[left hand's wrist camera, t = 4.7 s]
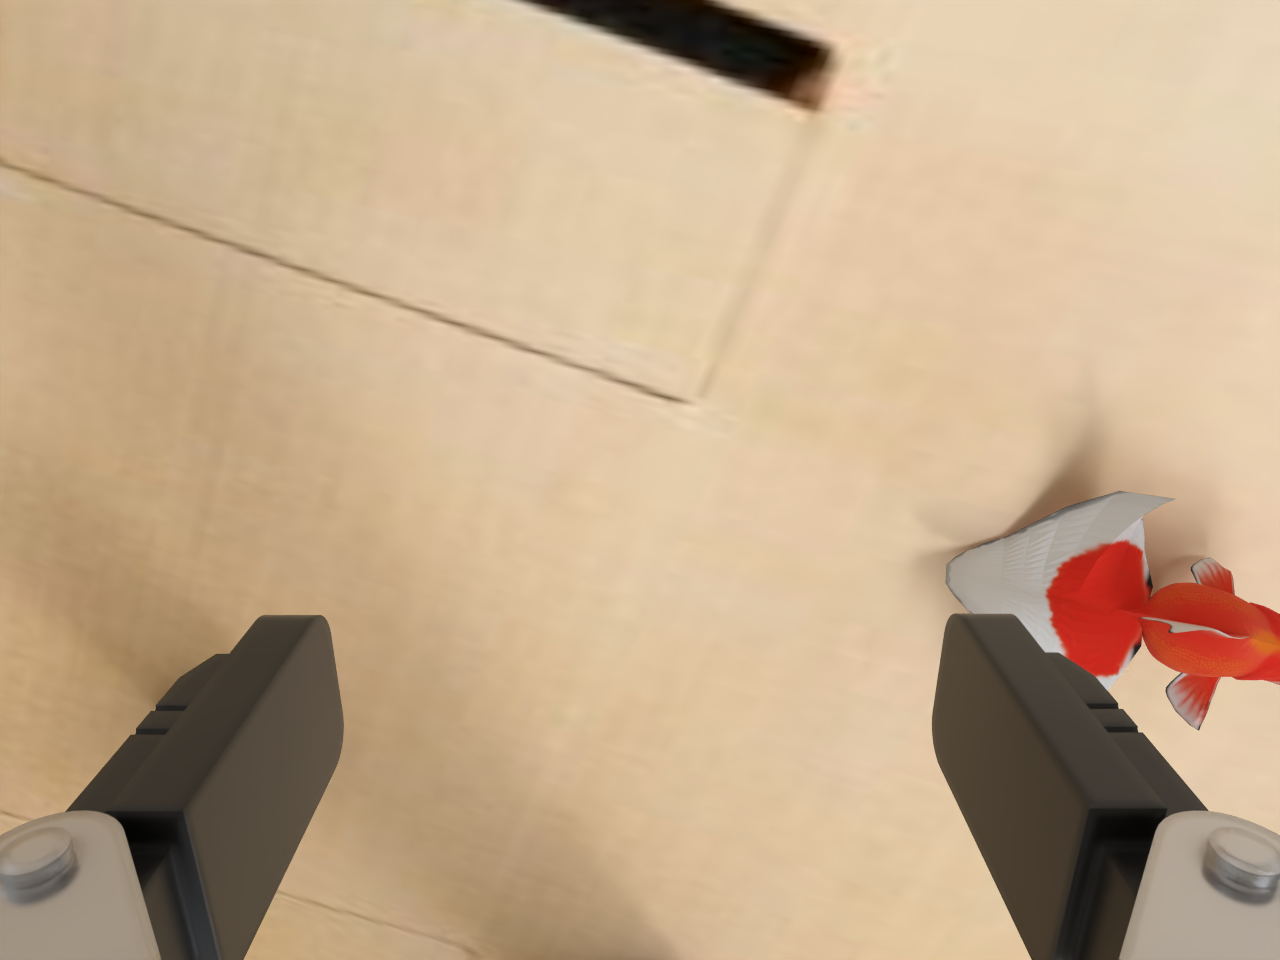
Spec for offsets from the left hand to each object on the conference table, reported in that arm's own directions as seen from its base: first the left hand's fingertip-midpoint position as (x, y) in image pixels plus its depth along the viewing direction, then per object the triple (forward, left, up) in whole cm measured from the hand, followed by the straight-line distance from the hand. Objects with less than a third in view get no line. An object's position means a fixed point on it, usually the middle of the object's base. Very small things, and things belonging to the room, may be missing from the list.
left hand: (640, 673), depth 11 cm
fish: (-14, -22, -29) cm, 39 cm away
